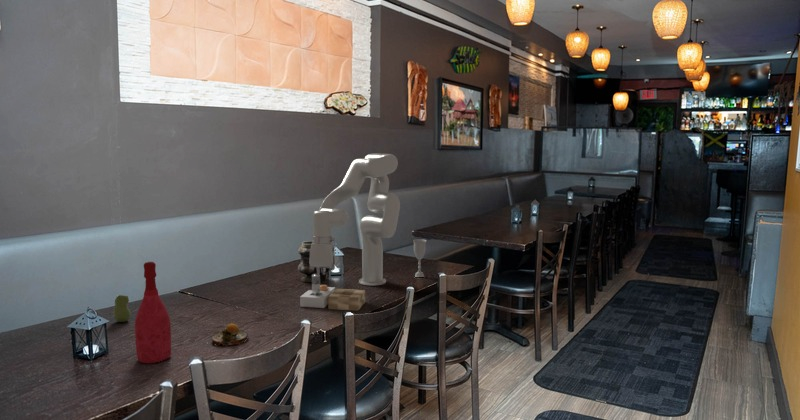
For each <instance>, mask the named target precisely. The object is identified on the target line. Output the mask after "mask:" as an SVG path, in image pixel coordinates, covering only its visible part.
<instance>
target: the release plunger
mask: <svg viewBox="0 0 800 420" xmlns="http://www.w3.org/2000/svg"><path fill="white" fill-rule="evenodd" d="M327 287H328V285H327V284H320V291H327Z"/></svg>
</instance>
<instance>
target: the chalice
mask: <svg viewBox="0 0 800 420" xmlns="http://www.w3.org/2000/svg"><path fill="white" fill-rule="evenodd" d="M412 241H413V253H414V255H415V258H416V259H417V260H418V261H417V262H418V263H417V265H418V266H417V268H418V270H417V272H415V275H414V276H415V277H424V278H425V275H424V272H422V271H421V269H422V266H421V264H422V262H421V260H422V259H423V258H424V256H425V254H426V252H427V251H426V250H427V249H426V247H427V246H426V245H427V244H426V243H427V239H423V238H422V239H421V238H417V239H413V240H412ZM415 277H414V278H415Z"/></svg>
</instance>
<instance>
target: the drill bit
mask: <svg viewBox="0 0 800 420" xmlns="http://www.w3.org/2000/svg"><path fill="white" fill-rule="evenodd" d="M320 285H321V284H320V274H312V282H311V290H312V295H314V296H320Z"/></svg>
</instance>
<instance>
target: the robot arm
mask: <svg viewBox="0 0 800 420" xmlns="http://www.w3.org/2000/svg"><path fill="white" fill-rule="evenodd" d="M398 161H399V160H398V158H397V157H396V156H395V155H394V154H392V153H376V152H375V153H369V154H367V155H365V156H364V157H362V158H361V157H359V158H355V159H353V161H352V162H351V164H350V165H349V168H348V169H347V172H346V174H345V175H344V177H343V180H342V182H341V183H340V185H339V186H338V187H336V188H335V189H333V190H332V191H331V192H330V193H329V194H327V196H325V198H324V200H323V202H321V205H320V207H319V210H315V211H313V214H312V241H313V243H312V244H311V249H310V260H309V263H310V267H309V268H310V269H313V270H315V271H316V272H317V274H320V285H325V283H326V281H327V273H328V272H331V271H334V270H335V269H336V268H335V265H336V254H335V253H336V252H335V245H334V242H335V240H336V239H335V238H334V237H332V236H333V235H332V228H333V227H334V228H335V227H336V228H341V227H342V228H343V227H345V226H346V225H347V224H348V223H349V221H350V215H349V213H348V212H347V211H346V210H344V209H340V208H337V206H338V205H340V204H341V203H342V202H344V201H347V200H349V199H352V198H354V197H356V196H357V195H359V193H360V190H361V188H362V186H363V184H364V182H365V180H366V179H367V178H368V179H370V187H369V193H368V199H367V204H366V205H367V206H366V207H367V209H368V210H369V212H372V213H376V214H382V215H375V214H369V215H365V216H363V217H362V218H361V220H360V222H359V231H360V234H361V246H362V248H361V262H362V263H361V266H362V268H361V269H362V271H361V275H362V276H361V278H360V279H358V283H359V284H360V285H364V286H371V287H373V286H376V287H377V286H381V285H385V284H386V283H387V279H386V278H385V277H384V276H383V275H384V274H383V273H384V272H383V271H384V269H383V268H384V267H383V265H384V264H383V263H384V262H383V261H384V255H383V254H384V253H383V250H384V247H383V246H384V245H383V241H382V239H383V238H384V239H390V238H392V237H393V236H394V235H395V233H396V230H397V226H398V220H399V215H400V210H401V202H400V198H399V196H398V195H396V194H394V193H389V187H390V180H389V177H388V175H391V174H392V173H394V172H395V171H396V170H397V168H398V164H399V163H398ZM321 267H323V270H321ZM383 277H384V278H383Z"/></svg>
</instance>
